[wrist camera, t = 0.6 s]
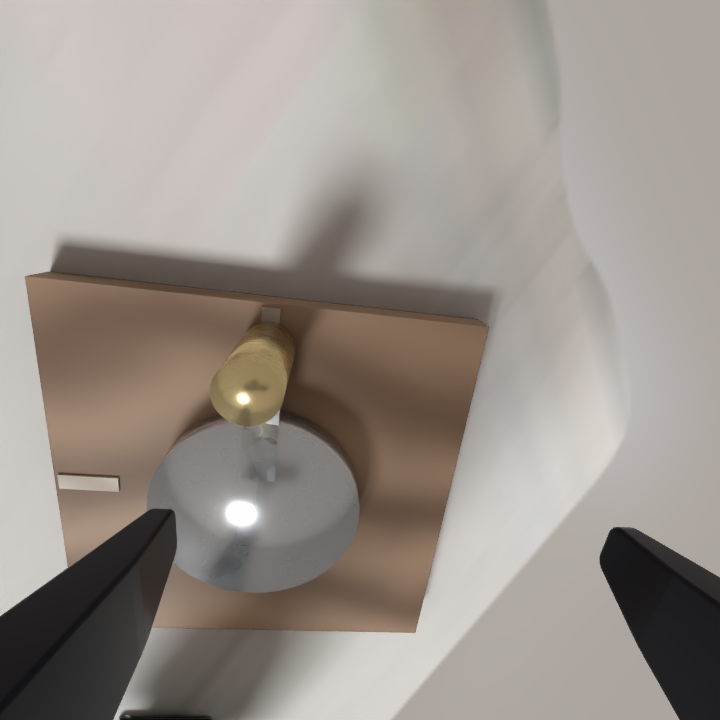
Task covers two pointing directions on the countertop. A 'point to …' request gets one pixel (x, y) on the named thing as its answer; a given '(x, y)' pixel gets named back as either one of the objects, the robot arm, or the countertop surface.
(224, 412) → the dial
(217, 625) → the dial panel
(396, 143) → the countertop surface
